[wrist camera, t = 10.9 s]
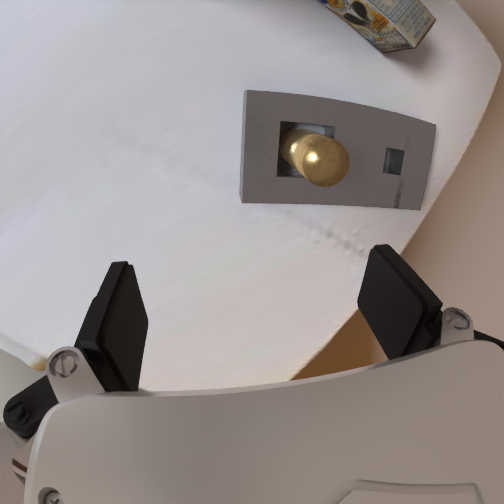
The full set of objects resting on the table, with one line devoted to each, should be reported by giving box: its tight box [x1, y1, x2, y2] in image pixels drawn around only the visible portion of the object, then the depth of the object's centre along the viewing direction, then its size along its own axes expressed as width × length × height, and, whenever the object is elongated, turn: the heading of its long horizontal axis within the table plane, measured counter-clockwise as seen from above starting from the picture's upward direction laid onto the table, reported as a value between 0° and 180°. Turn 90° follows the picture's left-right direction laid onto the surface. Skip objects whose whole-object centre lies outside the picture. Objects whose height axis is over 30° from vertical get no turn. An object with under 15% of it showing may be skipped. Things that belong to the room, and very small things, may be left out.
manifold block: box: [240, 90, 436, 210], centre depth 30 cm, size 12×24×3 cm, turn 87°
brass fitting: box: [279, 128, 350, 187], centre depth 27 cm, size 4×4×9 cm
